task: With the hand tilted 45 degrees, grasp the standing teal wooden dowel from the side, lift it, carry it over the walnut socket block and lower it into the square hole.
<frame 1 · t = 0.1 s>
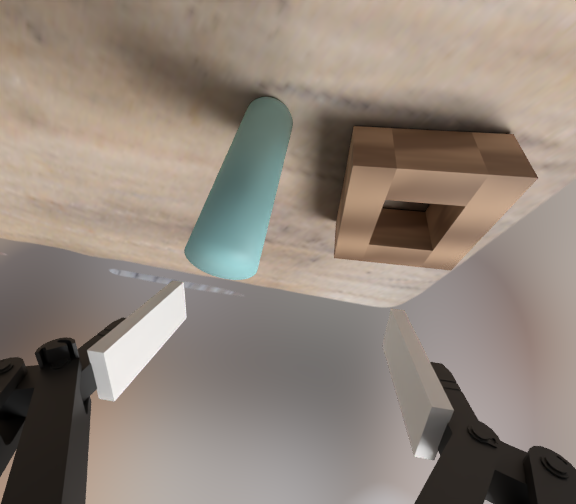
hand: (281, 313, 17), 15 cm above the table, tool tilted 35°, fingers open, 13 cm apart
dowel: (269, 121, 22), on the table
socket block: (405, 188, 26), on the table
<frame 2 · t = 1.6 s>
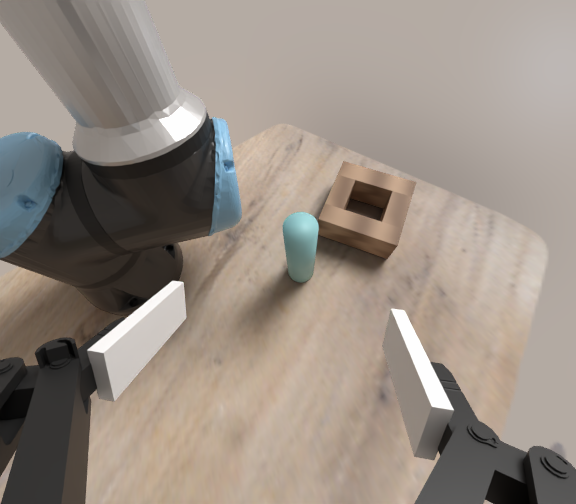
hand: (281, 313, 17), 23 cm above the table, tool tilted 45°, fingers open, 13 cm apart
dowel: (300, 270, 42), on the table
socket block: (361, 217, 46), on the table
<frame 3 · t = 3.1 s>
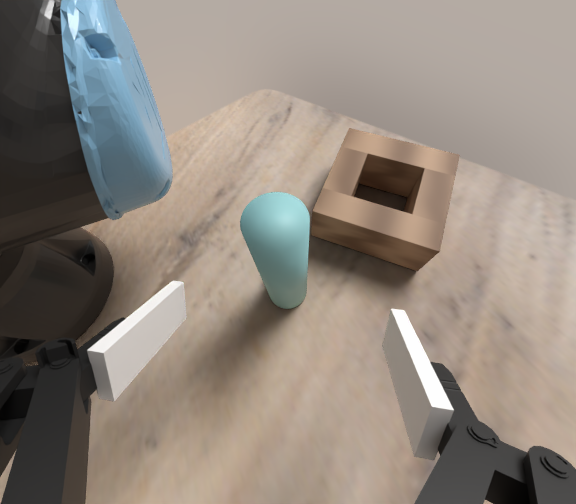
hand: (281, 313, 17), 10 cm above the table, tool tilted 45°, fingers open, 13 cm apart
dowel: (287, 289, 28), on the table
socket block: (376, 209, 31), on the table
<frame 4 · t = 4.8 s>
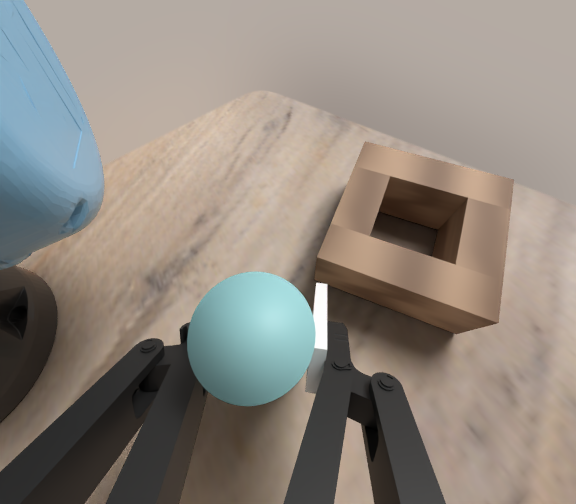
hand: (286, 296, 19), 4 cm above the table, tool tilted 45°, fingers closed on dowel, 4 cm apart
dowel: (282, 357, 21), on the table, touching gripper
socket block: (398, 245, 24), on the table
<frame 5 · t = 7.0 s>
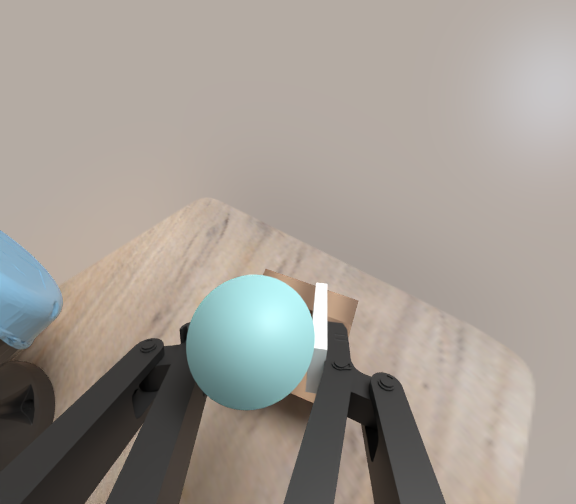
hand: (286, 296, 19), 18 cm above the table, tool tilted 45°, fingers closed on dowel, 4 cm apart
dowel: (282, 359, 21), point 14 cm above the table, touching gripper
socket block: (294, 336, 35), on the table
when the fingers open (7 cm above the table, at t = 9.5 s): dowel drops 3 cm, resting in socket block.
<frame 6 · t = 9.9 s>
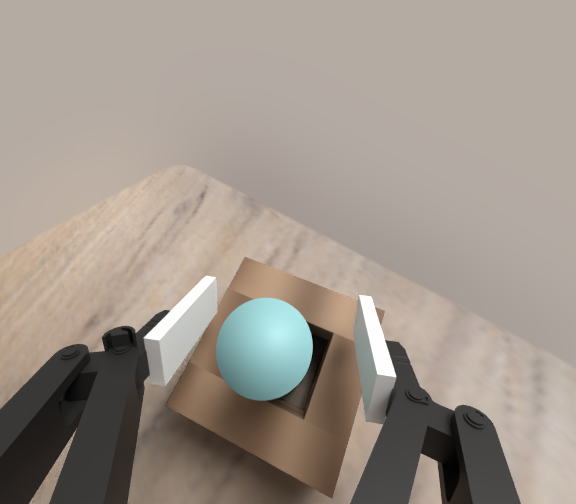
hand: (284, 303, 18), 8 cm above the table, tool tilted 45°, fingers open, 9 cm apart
dowel: (285, 360, 24), resting in socket block
socket block: (284, 359, 24), on the table
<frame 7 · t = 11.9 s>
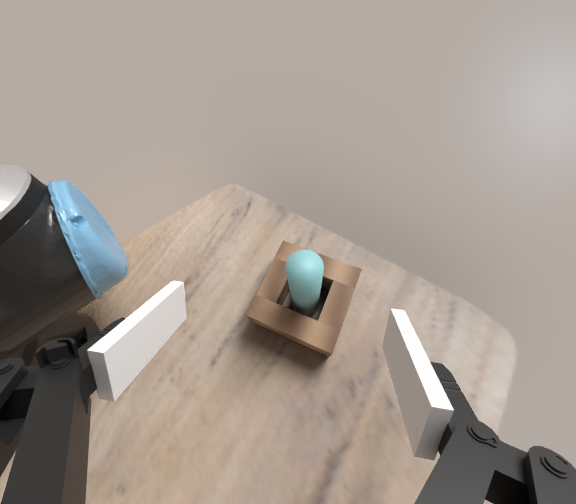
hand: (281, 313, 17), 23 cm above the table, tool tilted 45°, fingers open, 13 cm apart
dowel: (305, 302, 40), resting in socket block
socket block: (305, 301, 40), on the table
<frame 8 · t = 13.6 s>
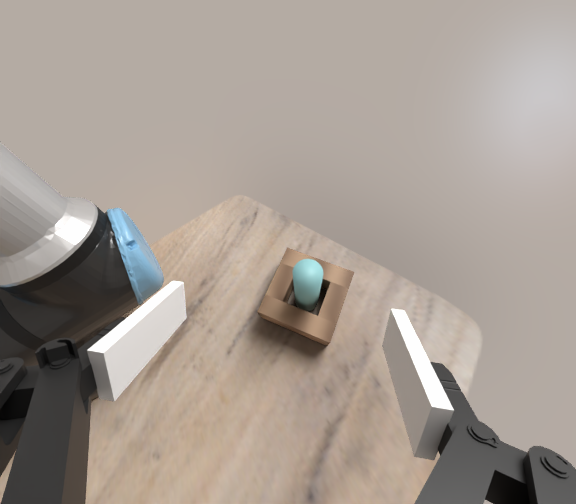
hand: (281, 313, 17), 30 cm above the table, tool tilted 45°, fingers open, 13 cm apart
dowel: (306, 300, 47), resting in socket block
socket block: (306, 299, 47), on the table
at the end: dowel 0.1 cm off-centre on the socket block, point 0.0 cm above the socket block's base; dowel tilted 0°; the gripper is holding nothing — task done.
